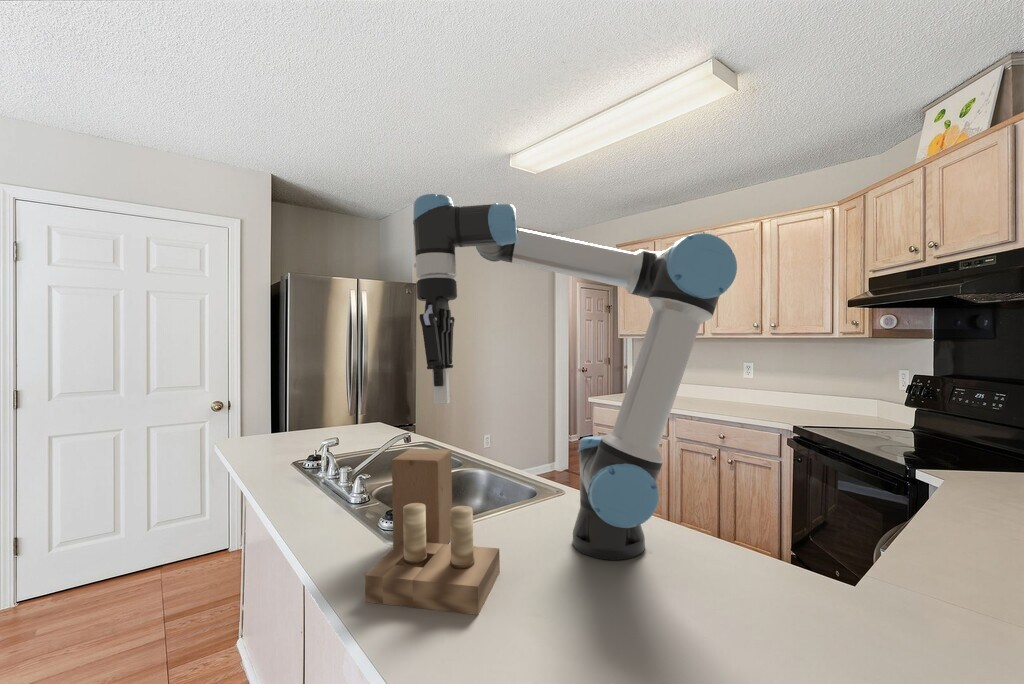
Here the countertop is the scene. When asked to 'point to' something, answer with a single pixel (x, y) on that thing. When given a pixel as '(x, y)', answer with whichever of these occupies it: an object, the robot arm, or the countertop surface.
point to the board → (438, 573)
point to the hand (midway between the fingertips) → (441, 403)
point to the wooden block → (423, 491)
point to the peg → (414, 535)
